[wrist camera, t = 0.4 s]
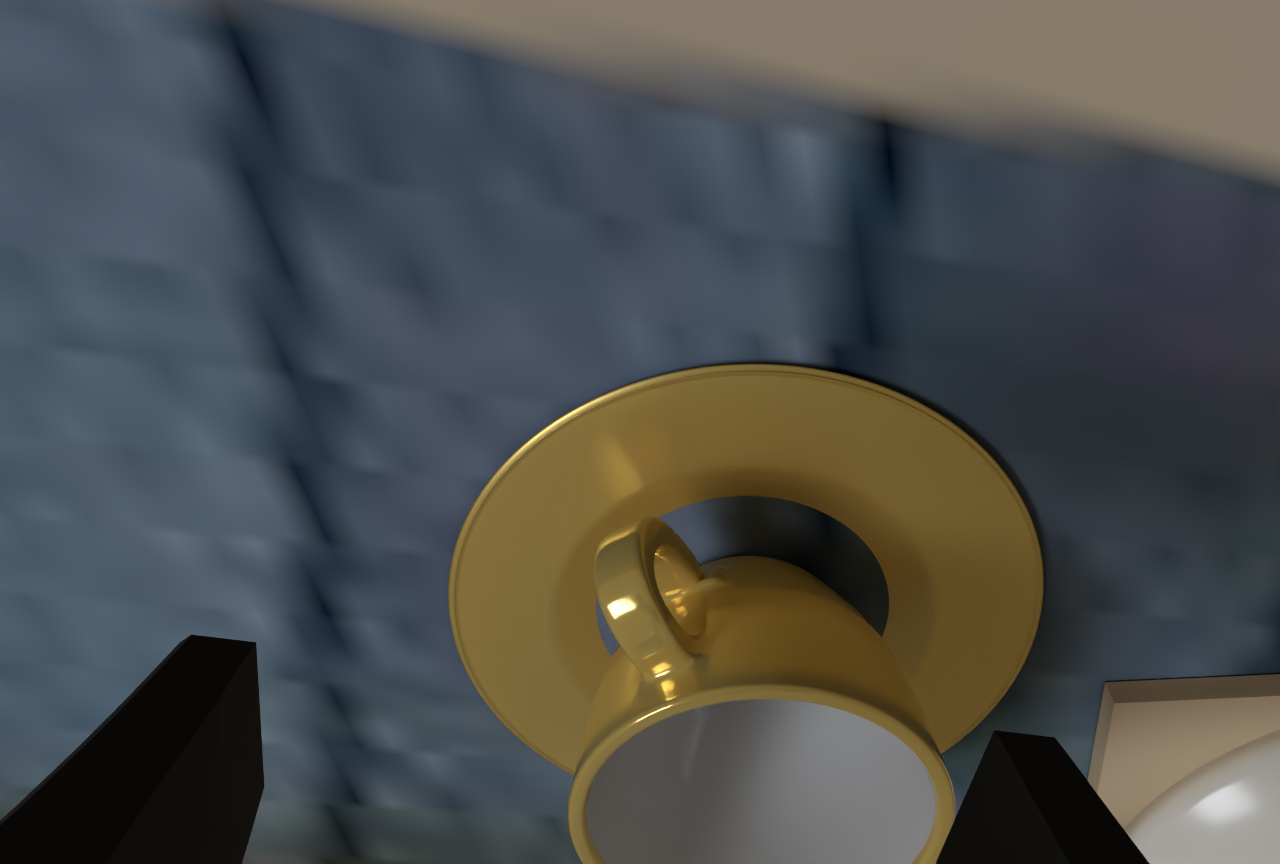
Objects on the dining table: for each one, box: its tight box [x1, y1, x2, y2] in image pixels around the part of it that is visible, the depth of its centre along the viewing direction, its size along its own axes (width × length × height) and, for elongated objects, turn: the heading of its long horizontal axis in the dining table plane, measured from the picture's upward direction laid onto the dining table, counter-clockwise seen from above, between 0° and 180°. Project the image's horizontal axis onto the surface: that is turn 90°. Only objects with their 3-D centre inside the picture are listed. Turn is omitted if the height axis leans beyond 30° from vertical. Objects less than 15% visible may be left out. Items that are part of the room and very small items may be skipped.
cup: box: [448, 364, 1044, 864], centre depth 21 cm, size 12×12×5 cm
